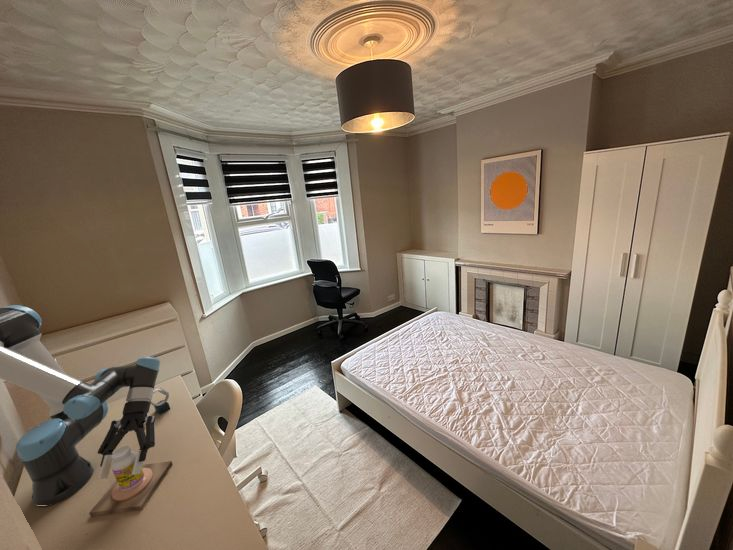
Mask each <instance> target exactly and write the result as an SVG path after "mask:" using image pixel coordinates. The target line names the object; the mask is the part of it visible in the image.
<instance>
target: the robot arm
mask: <svg viewBox="0 0 733 550" xmlns="http://www.w3.org/2000/svg"><path fill="white" fill-rule="evenodd" d="M42 321H43V320H42V318H41V316H40V315H39V314H38V312H36V310H34V309H32V308H30V307H27V306H24V305H20V304H19V305H17V304H13V305H8V306H4V307H0V380H3V381H6V382H8V383H10V384H12V385H16V386H18V387H21V388H23V389H25V390H27V391H30V392H31V393H32V392H33V393H34V394H38V395H39V396H40V397H41V399H42V400H43V401H44V402H45V403H46V404H47V406H48V407H49V408H50V411H49V414H48V416H49V418H50V419H48V420H46V421H45V420H44V421H43V422H41V423H40V424H39V425H35V426H34V427H32V428H31V429H29V430H27V431H26V432H25V433H24V434H23V435H22V436H21V437H20V438H19V440H18V441H17V443H16V445H15V450H16V453H17V457H18V459H19V460H20V461H21V462H22V464H23V465H22V466H24V468H25V470H26V472H27V474H28V476H29V479H30V480H31V482H32V488H31V489H32V490H31V491H32V494H31V500H32V503H33V504H34V505H35V504H36V505H49V506H51V505H50V504H52V505H54V503H55V504H57V503H59V502H61V501H63V500H66V499H67V498H68V497H70V496H71V495H73V494H75V493H76V492H77V491H79V490H80V489H81V488H83V486H84V485H86V484H87V482H89V481H90V479H91V478H92V476H93V474H94V472H95V471H94V468H93V467H94V466H93V465H92V464H91V462H90V461H88V460H87V459H86V458H84V457H83V456H82V455H80V454H79V452H78V449H77V447H76V446H77V445H78V444H79V443H80V442H81V441H82V440H83V439H84V438H85V437H87V435H89V434H90V433H91V432H92V431H93V430H94V429H95V428H97V427H98V426H99V425H100V424H101V423H102V421H103V420H104V419H105V418H106V417H107V415H108V413H109V406H108V403H107V400H108V399H110V398H111V397H112V396H113V395H115V394H116V393H117V392H119V390H120V389H122V388H128V387H129V389H128V392H127V395H126V398H125V401H126V402H125V403H124V406H123V409H122V417H121V418H120V419H118V420H112V421H111V423H110V425H109V430H108V431H107V433H106V435H105V437H104V438H103V441H102V443H101V445H100V446H99V449H98V451H97V454H99V455H102V457H101V461H100V463H99V465H100V466H99V467H100V471H99V474H98V475H99V476H98V480H103V479H108V477H109V474H110V469H111V465H112V462H113V460H112V457H111V456H112V454H113V453H114V452H115V451H116V450H115V449H116V448H117V447H118V446H119V444H121V443H120V442H122V440H123V438H124V437H125V435H127V434H128V433H129V432H133V431H134V433H135V435H136V438H137V441H138V442H137V443H138V446H139V449H138V450H137V451H136V459H135V463H134V467H133V471H132V475H134V474H140V472H141V468H142V465H143V462H145V461H146V459H147V454H148V450H149V449H151V448H154V447H155V445H156V441H155V440H156V439H155V438H156V437H155V434H156V432H155V422H156V419H157V417H156V415H154V416H153V415H148V414H149V412H150V408H151V406H152V404H151V403H150V402H149V401H151V402H152V399H153V396H154V394H153V391H154V389H155V386H156V382H157V379H158V374H159V372H160V370H159V369H160V365H161V361H160V359H158V358H156V357H153V356H151V357H150V356H143V357H142V356H141V357H140V358H137V360H136V362H135V364H132V365H123V366H120V365H119V366H112V367H107V368H103V369H100V370H99V371H98V372H97V374H96V375H95V376H94V381H93V382H92V383H91V384H90V383H87V382H85V381H83V380H80V379H78V378H75V377H73V376H71V375H69V374H67V373H66V372H65V370H64V369H63V368H62V367H61V366H60V364H59V363H58V362H57V361H56V359H55V358H54V357H53V356H52V354H51V353H50V352H49V350H48V349H47V347H45V345H44V344H43V343H42V341H40V340H41V337H42V334H43V333H42V332H41V331H40V328H41V327H42Z"/></svg>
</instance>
